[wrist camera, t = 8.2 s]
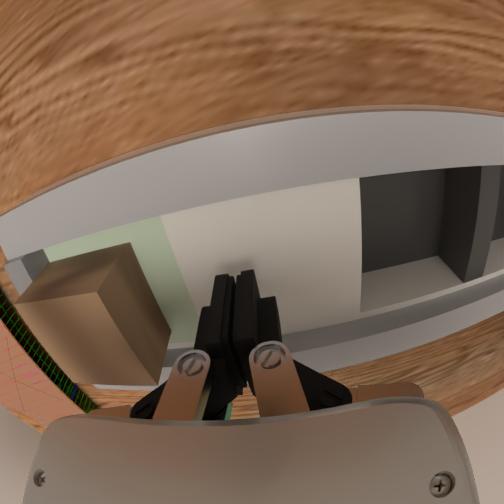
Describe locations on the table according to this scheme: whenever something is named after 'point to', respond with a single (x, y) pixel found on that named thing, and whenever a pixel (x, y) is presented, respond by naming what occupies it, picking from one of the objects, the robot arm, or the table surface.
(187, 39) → the table surface
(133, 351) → the walnut block
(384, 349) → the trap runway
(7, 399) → the house
